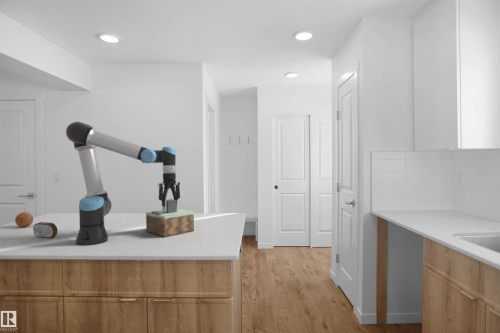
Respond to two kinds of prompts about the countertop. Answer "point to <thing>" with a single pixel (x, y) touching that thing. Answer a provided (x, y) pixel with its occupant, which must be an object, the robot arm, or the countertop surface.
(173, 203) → the block
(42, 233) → the tin
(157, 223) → the storage box
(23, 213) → the onion
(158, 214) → the lid
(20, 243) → the countertop surface
